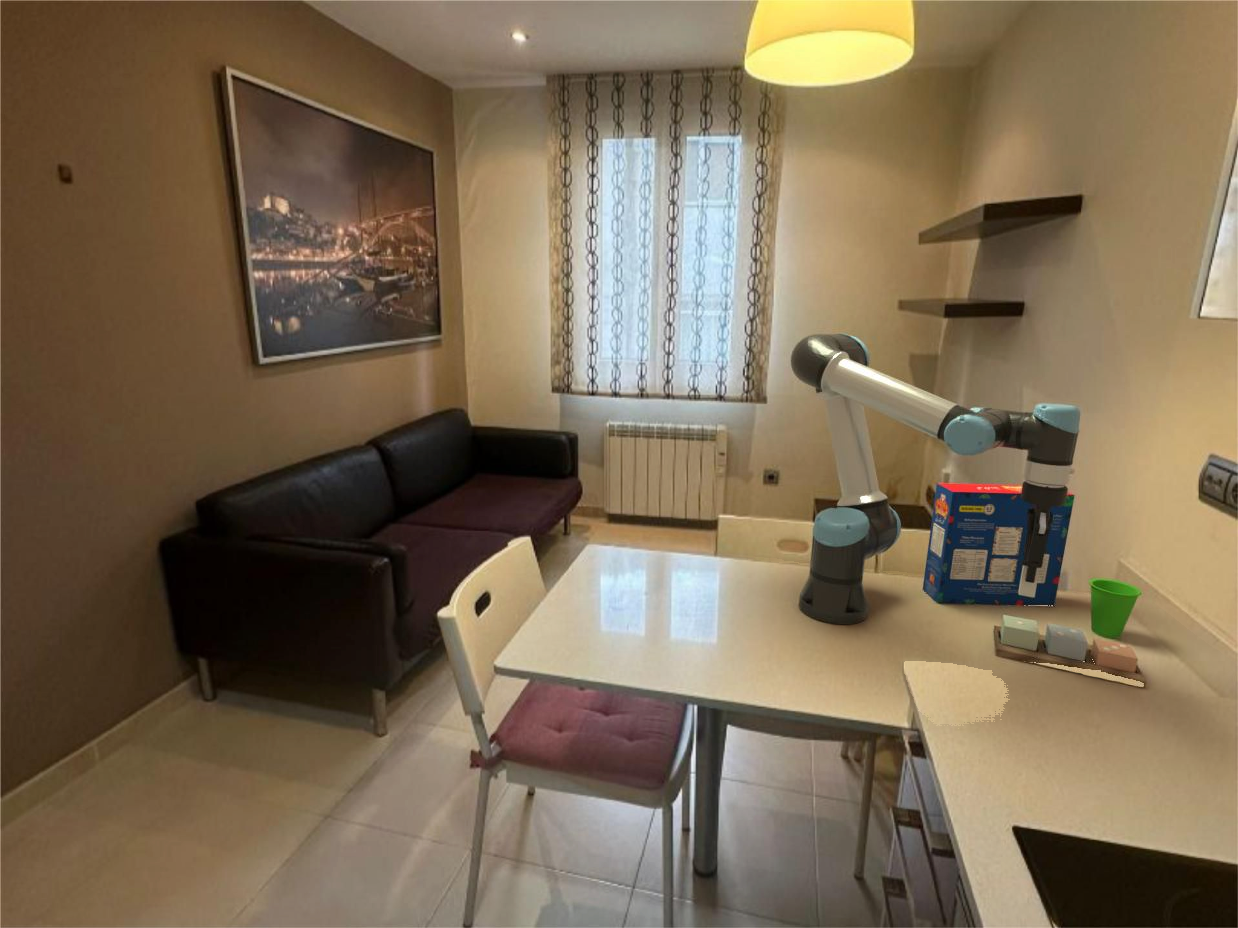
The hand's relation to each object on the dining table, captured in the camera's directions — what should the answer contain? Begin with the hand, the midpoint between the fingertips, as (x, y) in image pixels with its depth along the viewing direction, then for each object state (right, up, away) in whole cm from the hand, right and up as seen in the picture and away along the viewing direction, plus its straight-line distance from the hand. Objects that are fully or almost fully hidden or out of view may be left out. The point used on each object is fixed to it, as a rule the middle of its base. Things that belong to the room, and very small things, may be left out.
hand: (1026, 594), depth 131 cm
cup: (+24, -11, +10) cm, 28 cm away
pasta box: (+8, -7, +27) cm, 29 cm away
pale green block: (0, -10, +2) cm, 10 cm away
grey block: (+7, -11, -1) cm, 13 cm away
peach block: (+14, -13, -5) cm, 20 cm away
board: (+7, -13, -1) cm, 14 cm away
